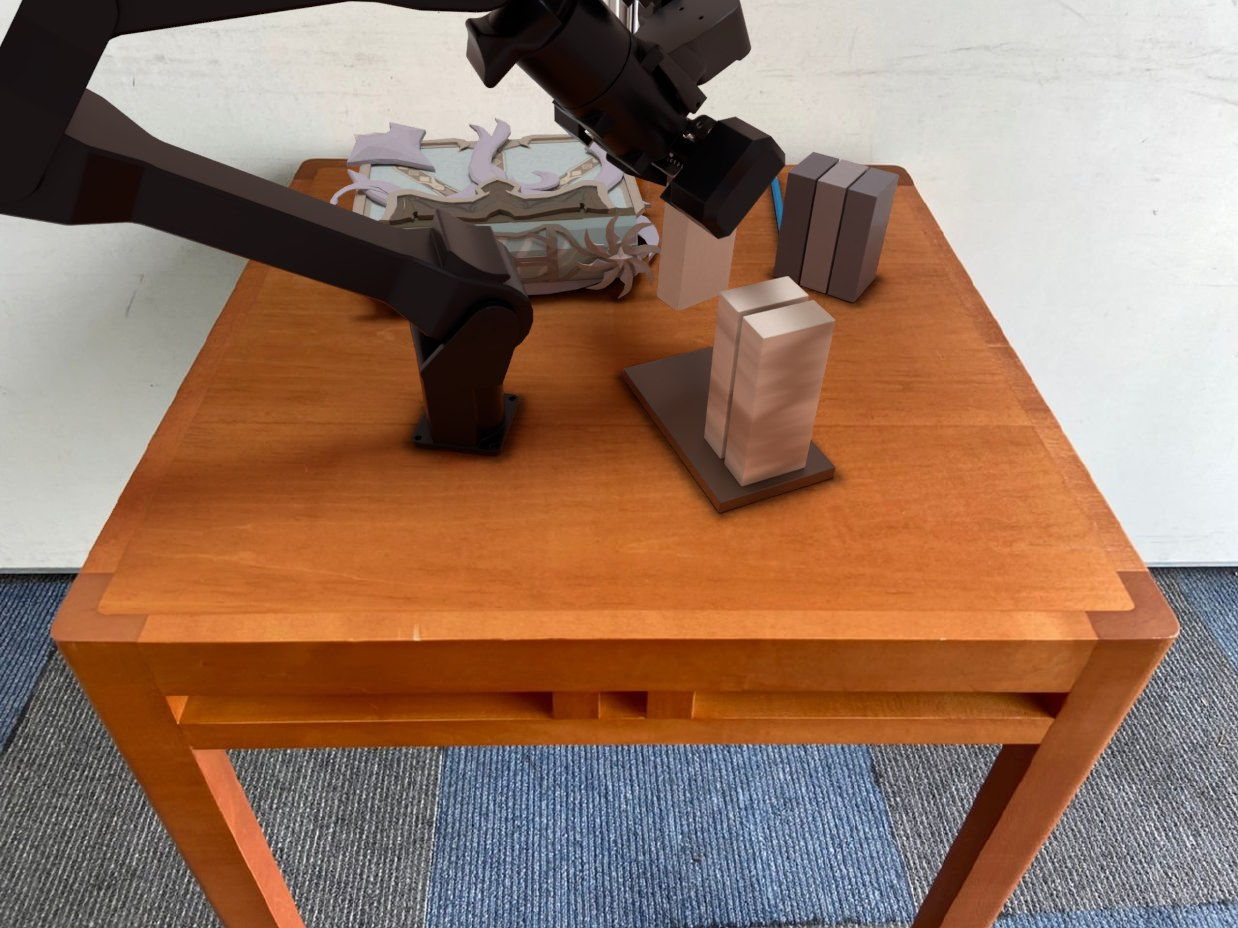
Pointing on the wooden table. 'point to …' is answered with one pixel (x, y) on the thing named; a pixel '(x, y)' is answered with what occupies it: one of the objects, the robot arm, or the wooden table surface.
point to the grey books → (834, 225)
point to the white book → (691, 261)
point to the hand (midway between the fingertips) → (722, 201)
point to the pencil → (777, 200)
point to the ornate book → (513, 200)
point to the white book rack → (746, 395)
